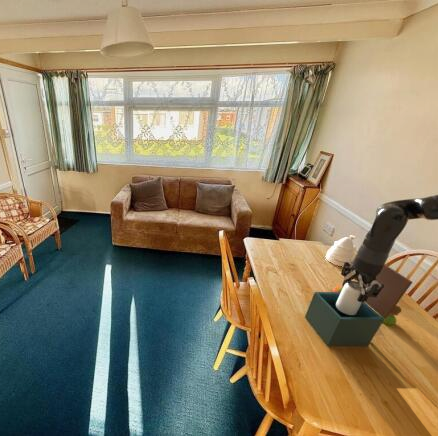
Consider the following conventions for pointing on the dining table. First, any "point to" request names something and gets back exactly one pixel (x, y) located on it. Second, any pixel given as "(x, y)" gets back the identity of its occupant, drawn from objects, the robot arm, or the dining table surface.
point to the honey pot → (341, 251)
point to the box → (342, 321)
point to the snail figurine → (392, 316)
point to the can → (349, 298)
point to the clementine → (338, 289)
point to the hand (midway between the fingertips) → (352, 294)
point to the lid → (388, 291)
